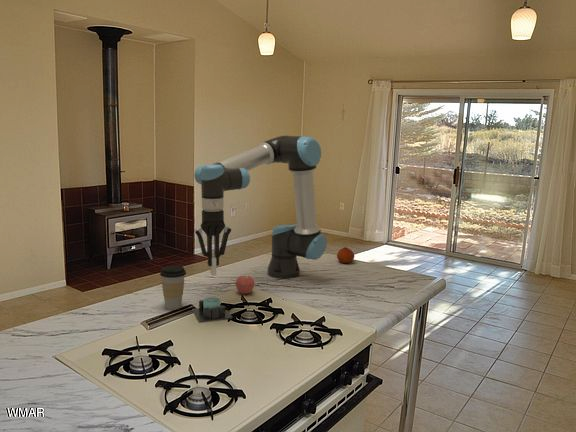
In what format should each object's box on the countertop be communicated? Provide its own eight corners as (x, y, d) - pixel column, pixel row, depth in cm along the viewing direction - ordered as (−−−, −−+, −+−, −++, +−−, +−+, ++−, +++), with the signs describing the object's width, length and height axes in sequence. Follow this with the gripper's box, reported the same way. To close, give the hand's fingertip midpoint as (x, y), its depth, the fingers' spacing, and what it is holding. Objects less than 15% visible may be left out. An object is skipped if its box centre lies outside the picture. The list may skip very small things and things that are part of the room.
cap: (201, 311, 174) (201, 297, 173) (217, 309, 177) (217, 295, 176) (205, 317, 169) (205, 303, 168) (221, 315, 171) (222, 301, 170)
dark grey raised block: (192, 310, 176) (192, 299, 175) (223, 306, 181) (224, 296, 180) (198, 322, 165) (198, 311, 165) (232, 318, 170) (232, 307, 169)
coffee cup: (163, 313, 172) (163, 273, 169) (157, 304, 180) (157, 266, 178) (189, 309, 177) (189, 270, 174) (182, 301, 185) (182, 263, 182)
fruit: (349, 266, 240) (350, 250, 239) (333, 262, 245) (334, 247, 244) (357, 262, 248) (358, 247, 246) (341, 259, 252) (342, 244, 251)
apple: (257, 293, 196) (258, 274, 195) (244, 297, 191) (244, 278, 190) (245, 288, 201) (245, 270, 200) (232, 292, 196) (232, 274, 195)
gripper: (196, 212, 160) (197, 279, 165) (233, 210, 165) (234, 275, 170) (191, 208, 167) (193, 273, 172) (228, 206, 172) (228, 269, 177)
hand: (213, 274), depth 171 cm, fingers closed
